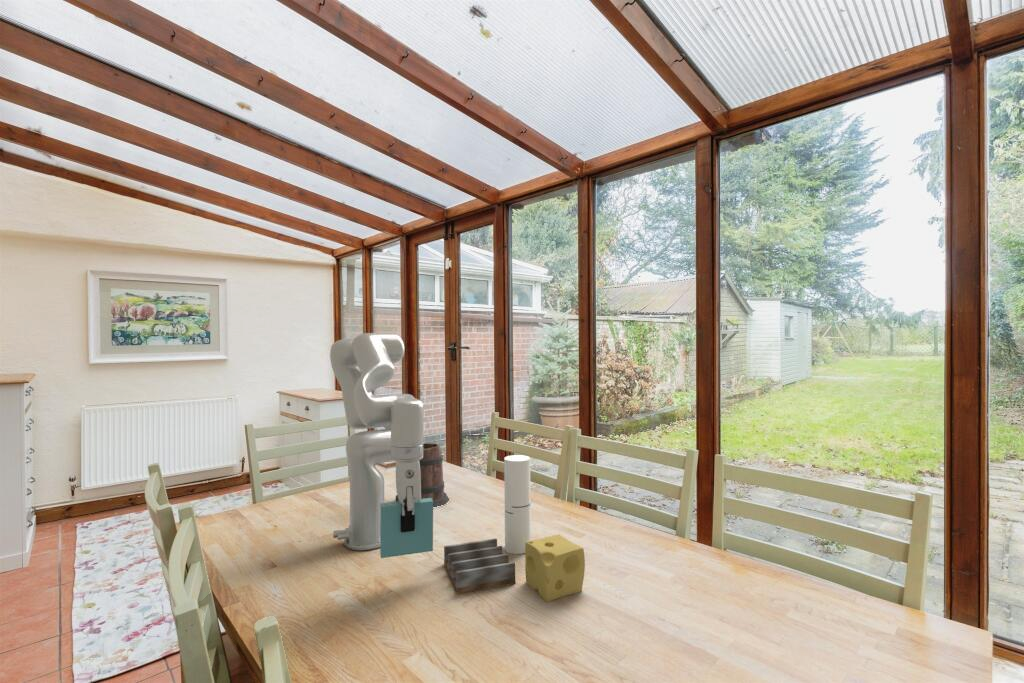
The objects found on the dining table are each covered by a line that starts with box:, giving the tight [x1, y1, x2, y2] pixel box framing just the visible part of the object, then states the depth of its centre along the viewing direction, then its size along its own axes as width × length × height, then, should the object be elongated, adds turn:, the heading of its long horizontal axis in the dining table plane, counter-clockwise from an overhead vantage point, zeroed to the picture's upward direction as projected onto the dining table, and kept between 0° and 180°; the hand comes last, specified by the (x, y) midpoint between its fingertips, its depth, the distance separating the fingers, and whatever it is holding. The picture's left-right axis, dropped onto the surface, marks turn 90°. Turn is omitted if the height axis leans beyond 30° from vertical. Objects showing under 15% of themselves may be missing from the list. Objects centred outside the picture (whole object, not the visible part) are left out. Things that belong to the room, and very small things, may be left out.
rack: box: [443, 538, 517, 595], centre depth 120 cm, size 14×16×5 cm
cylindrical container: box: [503, 454, 532, 555], centre depth 134 cm, size 7×7×25 cm
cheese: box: [524, 534, 586, 603], centre depth 113 cm, size 10×11×10 cm
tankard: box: [394, 442, 450, 507], centre depth 171 cm, size 24×17×20 cm
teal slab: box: [379, 498, 434, 559], centre depth 115 cm, size 12×2×12 cm, turn 109°
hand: (406, 527), depth 115 cm, fingers closed on teal slab, 2 cm apart
